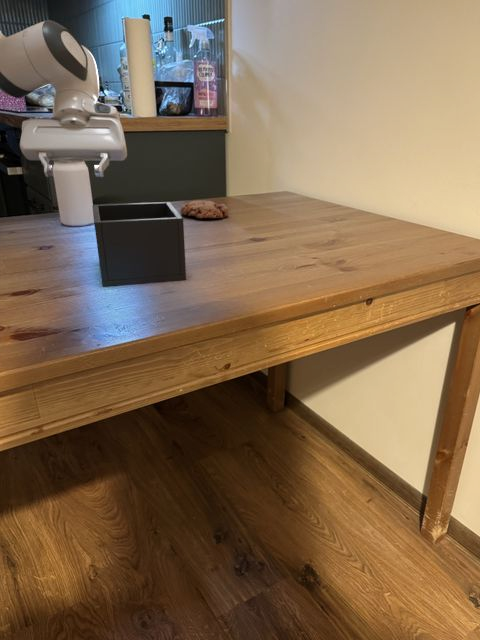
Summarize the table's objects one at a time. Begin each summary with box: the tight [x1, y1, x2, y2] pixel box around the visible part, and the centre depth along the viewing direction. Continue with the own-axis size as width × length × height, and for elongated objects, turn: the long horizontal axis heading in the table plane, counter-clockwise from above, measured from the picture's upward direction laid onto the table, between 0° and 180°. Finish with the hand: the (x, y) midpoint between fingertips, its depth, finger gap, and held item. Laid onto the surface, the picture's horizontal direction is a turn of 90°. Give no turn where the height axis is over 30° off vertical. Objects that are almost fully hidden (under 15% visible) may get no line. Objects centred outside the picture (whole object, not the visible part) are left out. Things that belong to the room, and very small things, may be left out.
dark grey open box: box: [92, 201, 187, 287], centre depth 73 cm, size 12×12×9 cm
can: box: [52, 158, 94, 228], centre depth 97 cm, size 6×6×12 cm
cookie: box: [179, 199, 229, 219], centre depth 108 cm, size 10×11×3 cm
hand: (74, 175), depth 98 cm, fingers open, 8 cm apart
